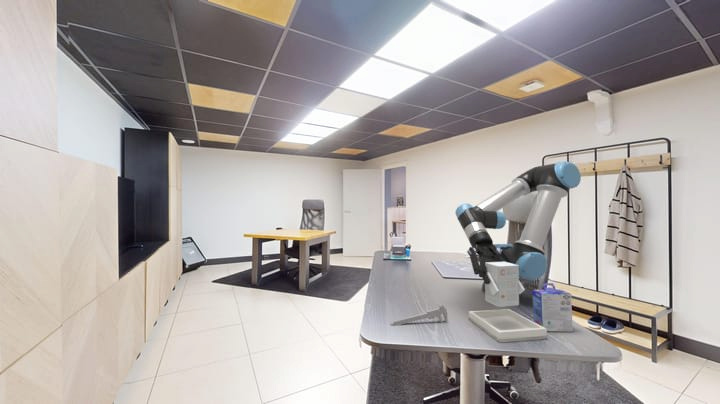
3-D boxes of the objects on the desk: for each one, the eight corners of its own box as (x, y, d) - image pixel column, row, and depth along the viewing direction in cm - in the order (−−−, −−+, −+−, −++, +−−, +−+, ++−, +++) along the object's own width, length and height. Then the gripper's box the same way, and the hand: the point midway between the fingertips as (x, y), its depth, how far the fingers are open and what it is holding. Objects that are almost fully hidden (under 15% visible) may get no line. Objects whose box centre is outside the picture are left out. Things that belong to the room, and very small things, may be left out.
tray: (508, 317, 94) (508, 308, 94) (546, 338, 78) (546, 328, 79) (468, 319, 92) (468, 311, 92) (499, 342, 76) (499, 332, 76)
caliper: (446, 321, 91) (445, 303, 91) (447, 322, 90) (447, 304, 90) (390, 325, 88) (390, 306, 88) (390, 326, 87) (390, 307, 87)
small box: (504, 298, 89) (504, 261, 90) (519, 305, 83) (519, 265, 84) (484, 300, 87) (484, 262, 88) (498, 307, 81) (498, 266, 82)
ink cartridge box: (560, 324, 88) (560, 282, 89) (573, 332, 83) (573, 287, 83) (531, 324, 89) (531, 281, 89) (542, 331, 83) (542, 286, 83)
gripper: (498, 242, 103) (531, 296, 86) (449, 243, 99) (473, 299, 83) (508, 230, 98) (545, 285, 81) (456, 230, 94) (483, 287, 78)
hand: (508, 292), depth 82 cm, fingers closed on small box, 8 cm apart
